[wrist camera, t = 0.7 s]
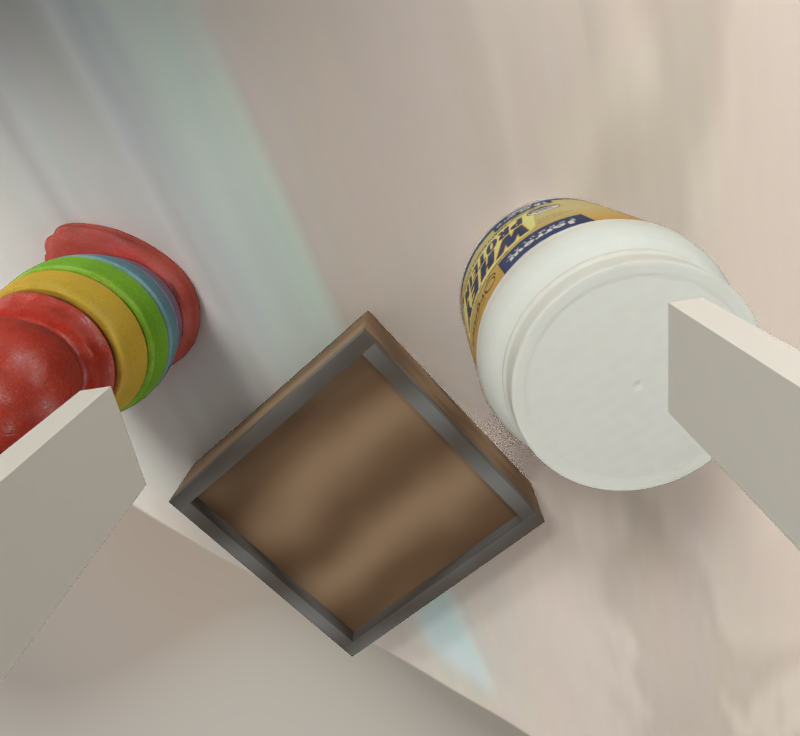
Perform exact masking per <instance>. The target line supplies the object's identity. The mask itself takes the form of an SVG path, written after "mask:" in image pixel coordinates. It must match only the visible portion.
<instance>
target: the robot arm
mask: <svg viewBox="0 0 800 736" xmlns="http://www.w3.org/2000/svg"><path fill="white" fill-rule="evenodd" d="M668 412H669V413H670V415H671V416H672V417H673V418H674V419H675V420H676V421H677V422H678V423H679V424H680V425H681V426H682V427H683V428H684V429H685V430H686V431H687V432H688V433H689V435H690V436H691V437H692V438H693V439H694V440H695V441H696V442H697V443H698V444H699V445H700V446H701V447H702V448H703V449H704V450H705V451H706V452H707V454H708V455H709V456H710V457H711V458H712V459H713V460H714V461H715V462H716V463H717V464H718V465H719V466H720V467H721V468H722V469H723V470H724V471H725V472H726V474H727V475H728V476H729V477H730V478H731V479H732V480H733V481H734V482H735V483H736V484H737V485H738V486H739V487H740V488H741V489H742V490H743V491H744V492H745V494H746V495H747V496H748V497H749V498H750V499H751V500H752V501H753V502H754V503H755V504H756V505H757V506H758V507H759V508H760V509H761V510H762V511H763V513H764V514H765V515H766V516H767V517H768V518H769V519H770V520H771V521H772V522H773V523H774V524H775V525H776V526H777V527H778V528H779V529H780V530H781V531H782V533H783V534H784V535H785V536H786V537H787V538H788V539H789V540H790V541H791V542H792V543H793V544H794V545H795V546H796V547H797V548H798V549H799V550H800V351H799V350H797V349H795V348H794V347H792V346H790V345H788V344H786V343H784V342H783V341H781V340H779V339H777V338H775V337H774V336H772V335H770V334H768V333H766V332H764V331H763V330H761V329H759V328H757V327H755V326H754V325H752V324H750V323H748V322H746V321H744V320H743V319H741V318H739V317H737V316H735V315H734V314H732V313H730V312H728V311H726V310H724V309H723V308H721V307H719V306H717V305H715V304H714V303H712V302H710V301H708V300H706V299H704V298H697V299H690V300H683V301H677V302H670V303H668ZM145 485H146V483H145V480H144V477H143V474H142V472H141V469H140V466H139V463H138V460H137V458H136V455H135V452H134V449H133V447H132V444H131V441H130V438H129V435H128V433H127V430H126V427H125V424H124V421H123V419H122V416H121V413H120V410H119V408H118V405H117V402H116V399H115V396H114V394H113V391H112V388H111V386H108V387H102V388H95V389H88V390H82V391H79V392H78V393H77V394H75V395H74V396H73V397H72V398H70V399H69V400H68V401H67V402H65V403H64V404H63V405H62V406H60V407H59V408H58V409H57V410H55V411H54V412H53V413H52V414H50V415H49V416H48V417H47V418H45V419H44V420H43V421H42V422H40V423H39V424H38V425H37V426H35V427H34V428H33V429H32V430H30V431H29V432H28V433H27V434H25V435H24V436H23V437H22V438H20V439H19V440H18V441H17V442H15V443H14V444H13V445H12V446H10V447H9V448H8V449H7V450H5V451H4V452H3V453H2V454H0V684H1V682H2V681H3V680H4V678H5V677H6V676H7V674H8V673H9V671H10V670H11V669H12V667H13V666H14V665H15V663H16V662H17V661H18V659H19V658H20V656H21V655H22V654H23V652H24V651H25V650H26V648H27V647H28V645H29V644H30V643H31V641H32V640H33V639H34V637H35V636H36V634H37V633H38V632H39V630H40V629H41V628H42V626H43V625H44V624H45V622H46V621H47V619H48V618H49V617H50V615H51V614H52V613H53V611H54V610H55V608H56V607H57V606H58V604H59V603H60V602H61V600H62V599H63V598H64V596H65V595H66V594H67V592H68V591H69V589H70V588H71V587H72V585H73V584H74V583H75V581H76V580H77V578H78V577H79V576H80V574H81V573H82V572H83V570H84V569H85V568H86V566H87V565H88V563H89V562H90V561H91V559H92V558H93V557H94V555H95V554H96V552H97V551H98V550H99V548H100V547H101V545H102V544H103V543H104V542H105V540H106V539H107V537H108V536H109V535H110V533H111V532H112V531H113V529H114V528H115V526H116V525H117V524H118V522H119V521H120V520H121V518H122V517H123V516H124V514H125V513H126V511H127V510H128V509H129V507H130V506H131V505H132V503H133V502H134V501H135V499H136V498H137V496H138V495H139V494H140V492H141V491H142V490H143V488H144V487H145Z"/></svg>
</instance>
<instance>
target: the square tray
mask: <svg viewBox="0 0 800 736" xmlns="http://www.w3.org/2000/svg"><path fill="white" fill-rule="evenodd" d="M169 502H170V503H171V504H172V505H173V506H174V507H176V508H177V509H178V510H179V511H180V512H181V513H183V514H184V515H185V516H186V517H187V518H189V519H190V520H191V521H192V522H193V523H194V524H196V525H197V526H198V527H199V528H200V529H202V530H203V531H204V532H205V533H206V534H208V535H209V536H210V537H211V538H212V539H213V540H215V541H216V542H217V543H218V544H219V545H221V546H222V547H223V548H224V549H225V550H226V551H228V552H229V553H230V554H231V555H232V556H234V557H235V558H236V559H237V560H238V561H240V562H241V563H242V564H243V565H244V566H245V567H247V568H248V569H249V570H250V571H251V572H253V573H254V574H255V575H256V576H257V577H259V578H260V579H261V580H262V581H263V582H264V583H266V584H267V585H268V586H269V587H270V588H272V589H273V590H274V591H276V592H277V593H278V594H279V595H280V596H281V597H282V598H283V599H285V600H286V601H287V602H288V603H289V604H291V605H292V606H293V607H294V608H295V609H297V610H298V611H299V612H300V613H301V614H303V615H304V616H305V617H306V618H307V619H308V620H310V621H311V622H312V623H313V624H315V626H317V627H318V628H319V629H320V630H321V631H323V632H324V633H325V634H326V635H327V636H328V637H330V638H331V639H332V640H333V641H334V642H336V643H337V644H338V645H339V646H340V647H342V648H343V649H344V650H345V651H346V652H348V653H349V654H350V655H351V656H354V655H355V654H356V653H358V652H360V651H361V650H362V649H364V648H365V647H367V646H368V645H369V644H371V643H372V642H374V641H375V640H377V639H378V638H379V637H381V636H382V635H384V634H385V633H387V632H388V631H389V630H391V629H392V628H394V627H395V626H397V625H398V624H399V623H401V622H402V621H404V620H405V619H407V618H408V617H409V616H411V615H412V614H414V613H415V612H417V611H418V610H419V609H421V608H422V607H424V606H425V605H427V604H428V603H429V602H431V601H432V600H434V599H435V598H436V597H438V596H439V595H441V594H442V593H444V592H445V591H446V590H448V589H449V588H451V587H452V586H454V585H455V584H456V583H458V582H459V581H461V580H462V579H464V578H465V577H466V576H468V575H469V574H471V573H472V572H474V571H475V570H476V569H478V568H479V567H481V566H482V565H484V564H485V563H486V562H488V561H489V560H491V559H492V558H494V557H495V556H496V555H498V554H499V553H501V552H502V551H503V550H505V549H506V548H508V547H509V546H511V545H512V544H513V543H515V542H516V541H518V540H519V539H521V538H522V537H523V536H525V535H526V534H528V533H529V532H531V531H532V530H533V529H535V528H536V527H538V526H539V525H541V524H542V523H543V522H544V519H543V516H542V513H541V510H540V508H539V505H538V502H537V499H536V497H535V494H534V491H533V488H532V485H531V483H530V482H529V481H528V480H527V479H526V477H525V476H524V475H523V474H522V473H521V472H520V471H519V470H518V469H517V468H516V467H515V466H514V465H513V464H512V463H511V462H510V461H509V459H508V458H507V457H506V456H505V455H504V454H503V453H502V452H501V451H500V450H499V449H498V448H497V447H496V446H495V445H494V444H493V442H492V441H491V440H490V439H489V438H488V437H487V436H486V435H485V434H484V433H483V432H482V431H481V430H480V429H479V428H478V427H477V425H476V424H475V423H474V422H473V421H472V420H471V419H470V418H469V417H468V416H467V415H466V414H465V413H464V412H463V411H462V410H461V408H460V407H459V406H458V405H457V404H456V403H455V402H454V401H453V400H452V399H451V398H450V397H449V396H448V395H447V394H446V393H445V392H444V390H443V389H442V388H441V387H440V386H439V385H438V384H437V383H436V382H435V381H434V380H433V379H432V378H431V377H430V376H429V375H428V373H427V372H426V371H425V370H424V369H423V368H422V367H421V366H420V365H419V364H418V363H417V362H416V361H415V360H414V359H413V358H412V356H411V355H410V354H409V353H408V352H407V351H406V350H405V349H404V348H403V347H402V346H401V345H400V344H399V343H398V342H397V341H396V339H395V338H394V337H393V336H392V335H391V334H390V333H389V332H388V331H387V330H386V329H385V328H384V327H383V326H382V325H381V324H380V323H379V321H378V320H377V319H376V318H375V317H374V316H373V315H372V314H371V313H370V312H369V311H367V312H366V313H365V314H364V315H363V316H361V317H360V318H359V319H358V320H357V321H356V322H355V323H354V324H352V325H351V326H350V327H349V328H348V329H347V330H346V331H344V332H343V333H342V334H341V335H340V336H339V337H338V338H337V339H335V340H334V341H333V342H332V343H331V344H330V345H329V346H328V347H326V348H325V349H324V350H323V351H322V352H321V353H320V354H318V355H317V356H316V357H315V358H314V359H313V360H312V361H311V362H309V363H308V364H307V365H306V366H305V367H304V368H303V369H301V370H300V371H299V372H298V373H297V374H296V375H295V376H294V377H292V378H291V379H290V380H289V381H288V382H287V383H286V384H285V385H283V386H282V387H281V388H280V389H279V390H278V391H277V392H275V393H274V394H273V395H272V396H271V397H270V398H269V399H268V400H266V401H265V402H264V403H263V404H262V405H261V406H260V407H259V408H257V409H256V410H255V411H254V412H253V413H252V414H251V415H249V416H248V417H247V418H246V419H245V420H244V421H243V422H242V423H240V424H239V425H238V426H237V427H236V428H235V429H234V430H233V431H231V432H230V433H229V434H228V435H227V436H226V437H225V438H223V439H222V440H221V441H220V442H219V443H218V444H217V445H216V446H214V447H213V448H212V449H211V450H210V451H209V452H208V453H207V454H205V455H204V456H203V457H202V458H201V459H200V460H199V461H197V462H196V463H195V464H194V465H193V466H192V468H191V469H190V471H189V472H188V474H187V475H186V477H185V478H184V480H183V482H182V483H181V485H180V486H179V488H178V489H177V491H176V492H175V494H174V495H173V497H172V498H171V500H170V501H169Z"/></svg>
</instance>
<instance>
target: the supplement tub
mask: <svg viewBox="0 0 800 736" xmlns="http://www.w3.org/2000/svg"><path fill="white" fill-rule="evenodd" d="M697 298H704V299H706V300H708V301H710V302H712V303H714V304H715V305H717V306H719V307H721V308H723V309H724V310H726V311H728V312H730V313H732V314H734V315H735V316H737V317H739V318H741V319H743V320H744V321H746V322H748V323H750V324H752V325H754V326H755V327H757V328H758V325H757V322H756V320H755V318H754V316H753V314H752V312H751V310H750V309H749V307H748V305H747V304H746V303H745V301H744V300H743V299H742V298H741V297H740V295H739V294H738V293H737V292H736V291H735V290H734V289H733V288H732V287H731V286H730V284H729V282H728V280H727V279H726V277H725V275H724V274H723V272H722V271H721V269H720V268H719V267H718V265H717V264H716V263H715V262H714V261H713V260H712V259H711V258H710V257H709V256H708V255H707V254H706V253H705V252H704V251H703V250H702V249H701V248H700V247H698V246H697V245H696V244H694V243H693V242H692V241H691V240H689V239H687V238H686V237H684V236H683V235H681V234H679V233H677V232H675V231H673V230H671V229H669V228H666V227H663V226H661V225H657V224H654V223H651V222H647V221H644V220H641V219H638V218H635V217H632V216H630V215H627V214H624V213H621V212H618V211H615V210H613V209H610V208H607V207H604V206H602V205H600V204H597V203H595V202H592V201H588V200H584V199H579V198H570V197H554V198H547V199H542V200H537V201H534V202H531V203H528V204H525V205H523V206H521V207H519V208H517V209H515V210H513V211H511V212H510V213H508V214H507V215H505V216H504V217H502V218H501V219H500V220H498V221H497V222H496V223H495V224H494V225H493V226H492V227H491V228H490V229H489V230H488V231H487V232H486V233H485V234H484V235H483V236H482V238H481V239H480V240H479V242H478V243H477V244H476V246H475V248H474V249H473V251H472V253H471V254H470V256H469V258H468V261H467V263H466V265H465V268H464V271H463V275H462V279H461V286H460V311H461V316H462V320H463V324H464V327H465V330H466V334H467V338H468V342H469V345H470V349H471V352H472V355H473V359H474V362H475V365H476V368H477V371H478V376H479V380H480V384H481V387H482V390H483V393H484V396H485V398H486V400H487V402H488V404H489V405H490V407H491V409H492V410H493V412H494V413H495V415H496V416H497V418H498V419H499V420H500V422H501V423H502V424H503V425H504V426H505V428H506V429H507V430H508V431H509V432H510V433H511V434H512V435H513V436H514V437H515V438H517V439H518V440H519V441H520V442H522V443H523V444H525V445H526V446H528V447H529V448H530V449H531V450H532V451H533V453H534V454H535V455H536V456H537V457H538V458H539V459H540V460H541V461H542V462H543V463H544V464H546V465H547V466H548V467H549V468H550V469H552V470H553V471H555V472H556V473H558V474H559V475H561V476H563V477H565V478H567V479H569V480H571V481H573V482H576V483H578V484H581V485H584V486H588V487H591V488H595V489H601V490H611V491H632V490H642V489H648V488H653V487H657V486H661V485H664V484H667V483H670V482H673V481H676V480H678V479H680V478H682V477H684V476H686V475H688V474H690V473H692V472H694V471H695V470H697V469H699V468H700V467H702V466H703V465H705V464H706V463H707V462H709V461H710V460H712V458H711V457H710V456H709V455H708V454H707V452H706V451H705V450H704V449H703V448H702V447H701V446H700V445H699V444H698V443H697V442H696V441H695V440H694V439H693V438H692V437H691V436H690V435H689V433H688V432H687V431H686V430H685V429H684V428H683V427H682V426H681V425H680V424H679V423H678V422H677V421H676V420H675V419H674V418H673V417H672V416H671V415H670V413H669V412H668V303H670V302H677V301H683V300H690V299H697Z"/></svg>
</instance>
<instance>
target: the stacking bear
mask: <svg viewBox="0 0 800 736" xmlns="http://www.w3.org/2000/svg"><path fill="white" fill-rule="evenodd" d="M45 250H46V255H45V262H43V263H41V264H39V265H37V266H35V267H33V268H31V269H29V270H27V271H26V272H24V273H23V274H21V275H20V276H18V277H17V278H16V279H14V280H13V281H12V282H11V283H10V284H9V285H8V286H6V287H5V288H4V289H2V290H1V291H0V454H2V453H3V452H4V451H5V450H7V449H8V448H9V447H10V446H12V445H13V444H14V443H15V442H17V441H18V440H19V439H20V438H22V437H23V436H24V435H25V434H27V433H28V432H29V431H30V430H32V429H33V428H34V427H35V426H37V425H38V424H39V423H40V422H42V421H43V420H44V419H45V418H47V417H48V416H49V415H50V414H52V413H53V412H54V411H55V410H57V409H58V408H59V407H60V406H62V405H63V404H64V403H65V402H67V401H68V400H69V399H70V398H72V397H73V396H74V395H75V394H77V393H78V392H79V391H82V390H88V389H95V388H102V387H108V386H111V388H112V391H113V394H114V396H115V399H116V402H117V405H118V408H119V410H120V412H122V411H124V410H126V409H128V408H130V407H131V406H133V405H135V404H136V403H138V402H139V401H141V400H142V399H143V398H145V397H146V396H147V395H148V394H149V393H150V392H151V391H152V390H153V389H155V388H156V386H157V385H158V384H159V383H160V382H161V380H162V379H163V377H164V376H165V374H166V373H167V371H168V370H169V368H170V366H171V365H173V364H174V363H176V362H177V361H179V360H180V359H181V358H182V357H184V356H185V355H186V353H187V352H188V351H189V350H190V348H191V347H192V345H193V343H194V341H195V339H196V337H197V334H198V330H199V324H200V309H199V303H198V299H197V296H196V293H195V290H194V288H193V286H192V284H191V282H190V281H189V279H188V278H187V276H186V275H185V273H184V272H183V271H182V270H181V269H180V268H179V267H178V266H177V265H176V264H175V263H174V262H173V261H172V260H171V259H169V258H168V257H167V256H166V255H164V254H163V253H162V252H160V251H159V250H157V249H156V248H154V247H153V246H151V245H149V244H148V243H146V242H144V241H142V240H140V239H138V238H136V237H134V236H132V235H129V234H127V233H124V232H122V231H119V230H116V229H113V228H109V227H105V226H100V225H93V224H84V223H70V224H65V225H62V226H60V227H58V228H57V229H56V231H55V233H54V234H53V235H51V236H50V237H48V238H47V240H46V242H45Z"/></svg>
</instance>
